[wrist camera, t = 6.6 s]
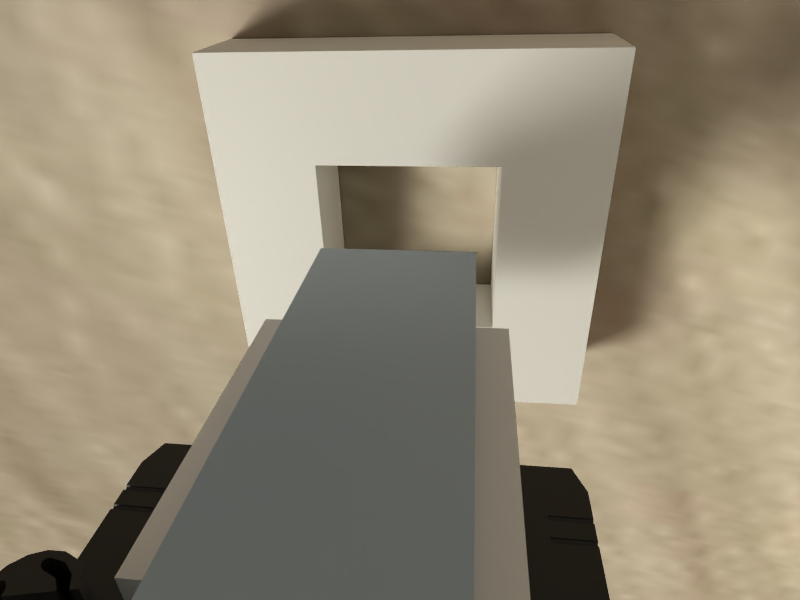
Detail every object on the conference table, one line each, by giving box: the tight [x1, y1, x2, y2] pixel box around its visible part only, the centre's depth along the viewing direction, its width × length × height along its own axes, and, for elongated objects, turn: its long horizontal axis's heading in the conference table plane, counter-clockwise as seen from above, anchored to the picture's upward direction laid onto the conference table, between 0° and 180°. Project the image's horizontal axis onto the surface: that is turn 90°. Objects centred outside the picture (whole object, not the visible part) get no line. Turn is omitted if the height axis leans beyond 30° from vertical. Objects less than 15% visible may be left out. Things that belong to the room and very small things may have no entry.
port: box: [192, 33, 636, 405], centre depth 20 cm, size 12×12×3 cm
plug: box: [131, 248, 476, 600], centre depth 11 cm, size 4×4×12 cm
